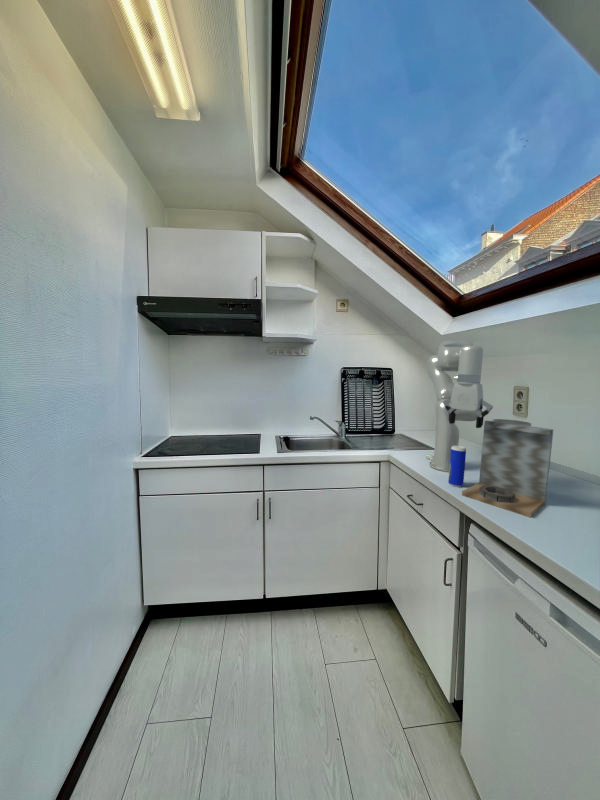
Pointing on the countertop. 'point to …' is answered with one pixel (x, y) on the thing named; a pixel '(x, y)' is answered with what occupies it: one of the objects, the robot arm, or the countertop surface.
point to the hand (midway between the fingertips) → (464, 425)
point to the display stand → (513, 467)
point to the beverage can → (457, 466)
